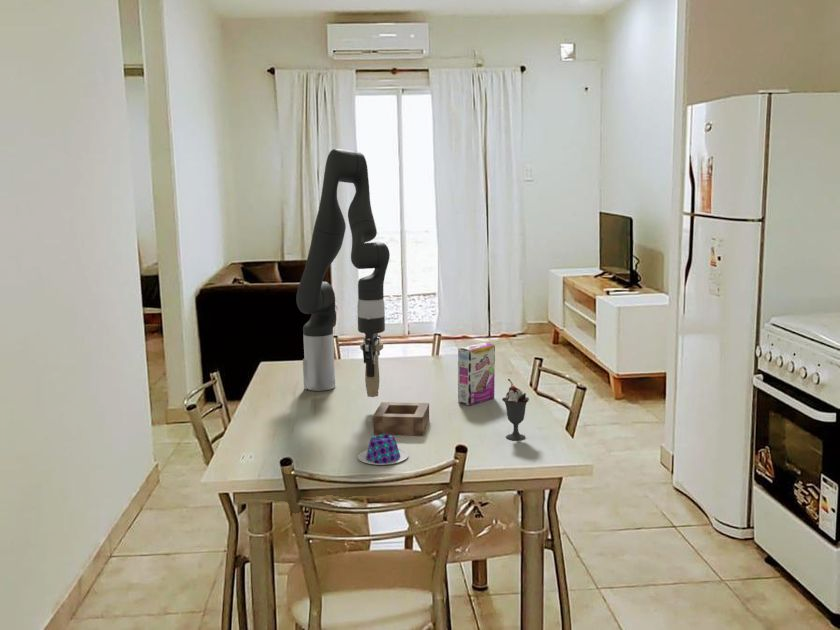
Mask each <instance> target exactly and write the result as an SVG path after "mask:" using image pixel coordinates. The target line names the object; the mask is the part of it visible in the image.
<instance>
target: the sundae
mask: <svg viewBox="0 0 840 630" xmlns="http://www.w3.org/2000/svg"><path fill="white" fill-rule="evenodd" d="M507 381H508V382H510V385H511V386H510V387H509V388H508V391H507V392H506V394H505V397H502V399H501V400H502V401H503V402H504V404H505V408H506V415H507V416H506V417H507V420H508V421H509V422H510V423H511V424H512V425H513V432H512V433H511V434H507V435H506V436H505V437H506V439H507V440H510V441H514V442H515V441H523V440H525V439H526V435H524V434H522V433H520V432H519V425H520V424H521V423H522V422H523V421H524V420H525V419H524V418H525V414H526V409H527V406H526V405H527V403H528V402H529V400H530V397H527V393H526V392H524V393H523V391H522V390H521V389H520V388H517V387H516V386H515V385H514V384H513V382H512V381H511V378H508V379H507Z"/></svg>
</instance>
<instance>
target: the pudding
mask: <svg viewBox="0 0 840 630" xmlns="http://www.w3.org/2000/svg"><path fill="white" fill-rule="evenodd" d="M408 457H409V453H408V452H407V451H406V450H404V449H401V448H399V447H398V443H397V439H396V438H395V437H394V435H385V434H382V435H373V436H372V437H370V439H369V443H368V448H367V449H365V450H363V451H361V452H360V453H359V454H358V455H357V458H358V459H357V460H359V461H360V462H363V463H365V464H369V465H378V466H380V465H383V466H384V465H386V466H387V465H393V464H398V463H401V462H403V461H405V460H406V459H407V458H408Z"/></svg>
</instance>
